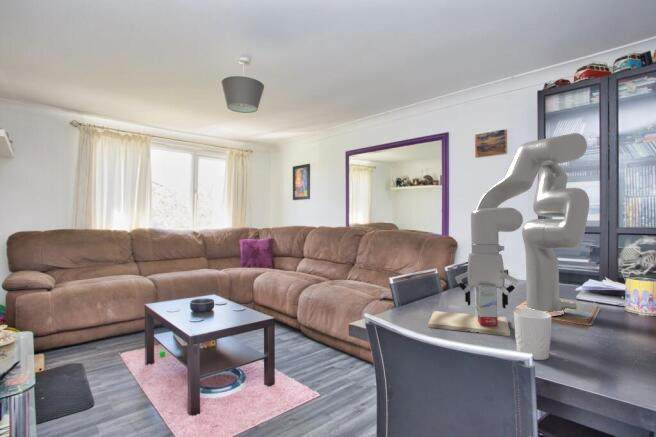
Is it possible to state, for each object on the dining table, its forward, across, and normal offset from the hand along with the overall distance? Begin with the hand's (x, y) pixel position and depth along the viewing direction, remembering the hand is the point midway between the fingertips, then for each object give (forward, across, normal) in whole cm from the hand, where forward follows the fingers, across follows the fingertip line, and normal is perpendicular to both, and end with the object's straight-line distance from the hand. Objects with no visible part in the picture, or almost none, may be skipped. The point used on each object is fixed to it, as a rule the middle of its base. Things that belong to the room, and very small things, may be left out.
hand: (486, 305), depth 104 cm
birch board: (+6, +5, 0) cm, 8 cm away
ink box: (+5, 0, 0) cm, 5 cm away
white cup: (+6, -10, +19) cm, 22 cm away
